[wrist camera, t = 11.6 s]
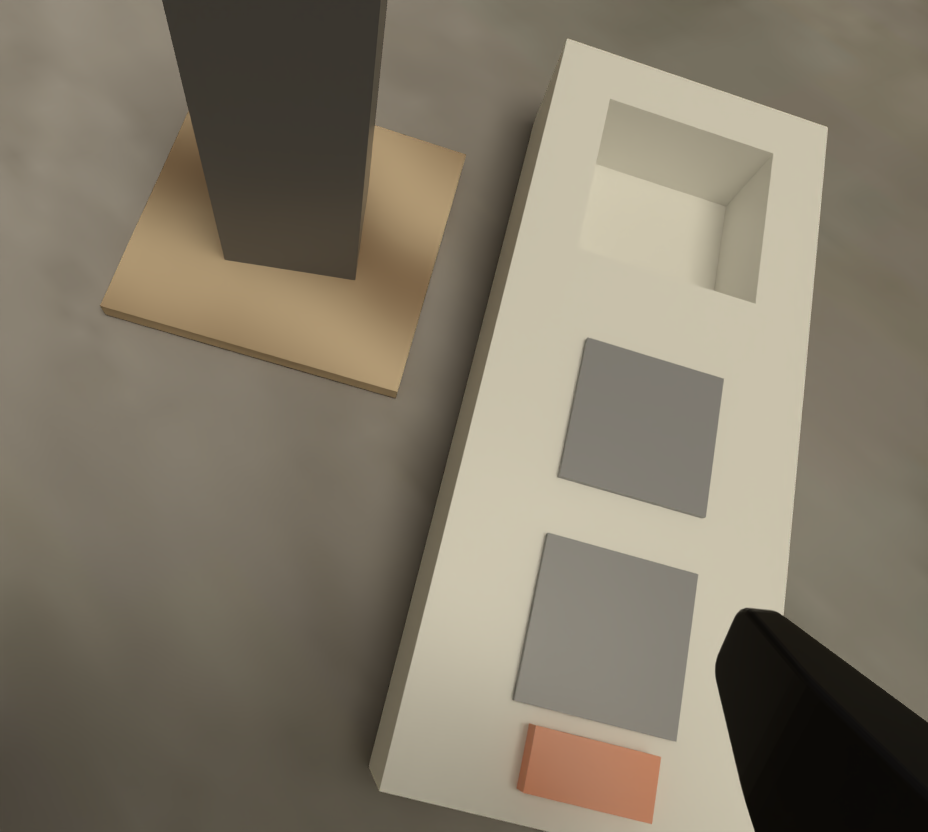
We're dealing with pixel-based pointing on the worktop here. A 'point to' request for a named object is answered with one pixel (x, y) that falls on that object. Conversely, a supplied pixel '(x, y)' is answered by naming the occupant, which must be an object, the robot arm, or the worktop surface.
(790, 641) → the robot arm
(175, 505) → the worktop surface
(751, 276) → the power strip
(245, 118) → the plug
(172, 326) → the wooden pad
